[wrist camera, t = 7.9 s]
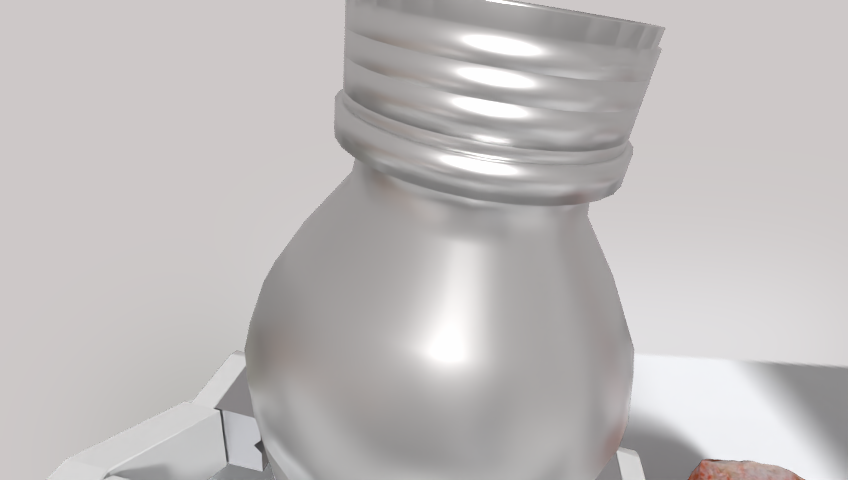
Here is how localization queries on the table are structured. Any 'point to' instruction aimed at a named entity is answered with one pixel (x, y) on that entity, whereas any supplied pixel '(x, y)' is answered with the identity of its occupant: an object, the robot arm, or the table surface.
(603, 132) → the plastic bottle
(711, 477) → the food item
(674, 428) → the table surface
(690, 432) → the table surface
